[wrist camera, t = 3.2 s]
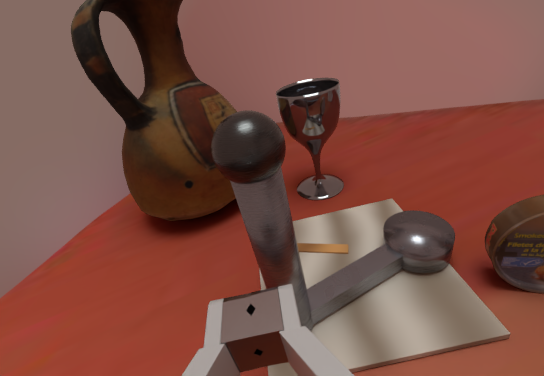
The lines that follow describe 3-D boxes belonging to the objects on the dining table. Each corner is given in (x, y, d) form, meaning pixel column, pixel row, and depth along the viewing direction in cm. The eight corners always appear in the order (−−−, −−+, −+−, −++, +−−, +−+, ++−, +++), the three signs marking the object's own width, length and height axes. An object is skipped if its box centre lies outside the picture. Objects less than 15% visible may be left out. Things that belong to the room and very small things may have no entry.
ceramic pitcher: (281, 168, 50) (237, -41, 34) (222, 247, 35) (96, -56, 19) (198, 165, 58) (132, -2, 43) (122, 227, 44) (-20, 8, 28)
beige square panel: (391, 202, 36) (392, 197, 35) (508, 338, 20) (511, 332, 20) (257, 233, 36) (255, 228, 35) (271, 390, 20) (269, 385, 20)
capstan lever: (412, 221, 31) (428, 36, 21) (466, 253, 26) (519, 32, 16) (261, 307, 25) (190, 114, 16) (293, 368, 20) (218, 142, 11)
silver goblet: (331, 206, 37) (319, 96, 29) (284, 195, 42) (263, 97, 34) (355, 177, 42) (350, 76, 34) (310, 169, 47) (297, 79, 39)
